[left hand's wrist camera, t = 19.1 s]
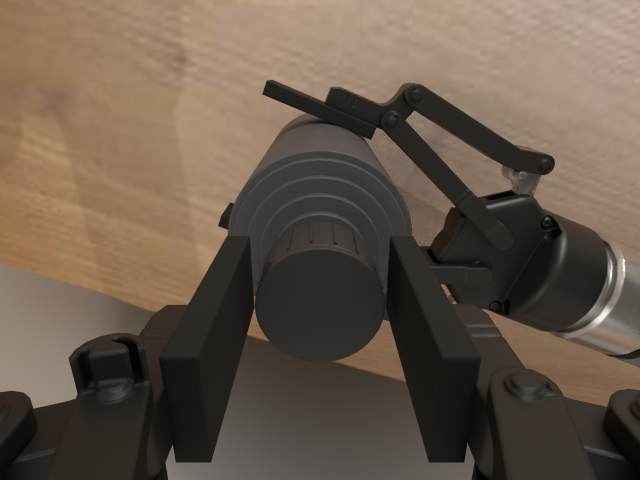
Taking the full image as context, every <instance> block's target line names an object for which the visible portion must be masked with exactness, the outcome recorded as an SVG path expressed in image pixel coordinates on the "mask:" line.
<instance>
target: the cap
mask: <svg viewBox="0 0 640 480" xmlns="http://www.w3.org/2000/svg"><path fill="white" fill-rule="evenodd" d="M257 283H258V284H259V286H258V289H257V293H256V298H255V311H256V317H257V320H258V323H259V325H260V328H261V330H262V331H263V333H264V334H265V336H266V337H267V338H268V340H269V341H270V342H271V343H272V344H273V345H274V346H276V347H277V348H278V349H280V350H281V351H283V352H284V353H286V354H288V355H290V356H293V357H295V358H298V359H301V360H306V361H312V362H328V361H335V360H339V359H343V358H345V357H348V356H350V355H352V354H354V353H356V352H358V351H359V350H361V349H362V348H363V347H364V346H366V345H367V344H368V343H369V342H370V341H371V340H372V339H373V337H374V336H375V334H376V333H377V332H378V330H379V328H380V326H381V324H382V320H383V317H384V312H385V298H384V293H383V289H384V285H383V282H382V279H381V275H380V272H379V268H378V265H377V262H376V263H375V261H374V258H373V255H372V252H371V249H370V246H369V244H368V245H367V244H366V243H365V242H364V241H363V239H362V238H361V237H359V236H358V235H357V234H356V232H355V231H354V230H353V231H351V230H350V229H348V228H346V227H344V226H341V225H338V224H336V223H335V222H333V223H330V222H313V221H311V223H305V224H302V225H299V226H297V227H294V228H292V227H291V228H290V230H289V231H287V232H286V233H284V234H283V235H282V236H281V237H280V238H279V239H278V240H277V241H276V240H275V241H274V243H273V246H272V247H271V249H270V251H269V253H268V255H267V257H265V258H264V262H263V265H262V268H261V272H260V275H259V278H258V282H257Z"/></svg>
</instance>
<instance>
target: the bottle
mask: <svg viewBox="0 0 640 480" xmlns="http://www.w3.org/2000/svg"><path fill="white" fill-rule="evenodd" d="M311 221H313V222H330V223H333V222H335V223H336V224H338V225H341V226H344V227H346V228H348V229H350V230H351V231H353V230H354V231H355V232H356V234H357V235H358V236H359V237H361V238H362V239H363V241H364V242H365V243H366V244H367V245H368V244H369V246H370V249H371V252H372V255H373V258H374V261H375V263H376V262H377V265H378V268H379V272H380V275H381V279H382V282H383V285H384V289H383V293H384V297H385V296H386V293H387V277H388V261H389V246H390V236H412V225H411V219H410V215H409V211H408V208H407V205H406V203H405V201H404V199H403V197H402V195H401V193H400V192H399V190H398V189H397V187H396V186H395V184H394V183H393V181H392V180H391V178H390V177H389V175H388V174H387V172H386V171H385V169H384V168H383V166H382V165H381V163H380V162H379V160H378V159H377V157H376V156H375V154H374V153H373V151H372V150H371V148H370V147H369V145H368V144H367V142H366V140H365V139H364V137H363V136H361V135H358V134H356V133H354V132H351V131H349V130H346V129H344V128H342V127H339V126H337V125H334V124H332V123H330V122H327V121H325V120H323V119H320V118H318V117H315V116H313V115H311V114H308V113H307V114H304V115H301V116H299V117H297V118H295V119H294V120H292V121H291V122H289V123H288V124H287V125H286V126H285V127H284V128H283V129H282V131H281V132H280V133H279V135H278V136H277V138H276V139H275V141H274V142H273V144H272V145H271V147H270V148H269V150H268V151H267V153H266V154H265V156H264V157H263V159H262V160H261V162H260V163H259V165H258V166H257V168H256V169H255V171H254V172H253V174H252V175H251V177H250V178H249V180H248V181H247V183H246V184H245V186H244V187H243V189H242V190H241V192H240V194H239V195H238V197H237V199H236V201H235V204H234V206H233V208H232V212H231V216H230V219H229V227H228V236H250V246H251V261H252V277H253V293H254V296H256V293H257V289H258V286H259V284H258V283H257V282H258V278H259V275H260V272H261V268H262V265H263V262H264V258H265V257H267V255H268V253H269V251H270V249H271V247H272V246H273V243H274V241H275V240H276V241H277V240H278V239H279V238H280V237H281V236H282V235H283V234H284V233H286V232H287V231H289V230H290V228H291V227H292V228H294V227H297V226H299V225H302V224H305V223H311Z"/></svg>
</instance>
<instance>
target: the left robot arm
mask: <svg viewBox="0 0 640 480" xmlns="http://www.w3.org/2000/svg"><path fill="white" fill-rule="evenodd" d="M253 310H254V293H253V277H252V261H251V246H250V236H227V237H226V239H225V241H224V243H223V244H222V246H221V248H220V250H219V251H218V253H217V255H216V257H215V258H214V260H213V262H212V264H211V265H210V267H209V269H208V271H207V273H206V274H205V276H204V278H203V280H202V281H201V283H200V285H199V287H198V288H197V290H196V292H195V294H194V296H193V297H192V299H191V301H190V303H189V304H188V305H167V306H165V307H164V308H162V309H161V310H159V311H158V312H157V313H155V314H154V315H153V316H152V317H151V318H150V320H149V321H148V323H147V324H146V326H145V329H143V330H142V332H141V333H140V335H139V336H137V335H133V334H129V333H114V334H109V335H105V336H101V337H98V338H95V339H93V340H90V341H88V342H86V343H85V344H83V345H81V346H80V347H79V348H77V349H76V350H75V351H74V352H73V353H72V355H71V356H70V357H69V362H70V365H71V369H72V373H73V377H74V381H75V384H76V389H77V393H78V395H77V397H76V399H74V400H70V401H66V402H63V403H58V404H53V405H49V406H44V407H40V408H35V409H33V406H32V403H31V400H30V398H29V397H28V396H27V395H26V394H25V393H22V392H16V391H7V392H0V480H168V476H167V470H166V464H165V462H166V460H167V457H168V454H169V452H170V449H171V447H172V444H173V448H174V454H175V460H176V462H211V461H212V457H213V453H214V450H215V446H216V443H217V439H218V436H219V432H220V428H221V425H222V421H223V418H224V414H225V411H226V407H227V403H228V400H229V396H230V393H231V389H232V385H233V382H234V378H235V375H236V371H237V368H238V364H239V360H240V357H241V353H242V349H243V346H244V342H245V339H246V335H247V332H248V328H249V325H250V321H251V317H252V314H253ZM386 310H387V314H388V317H389V321H390V325H391V328H392V332H393V335H394V339H395V343H396V346H397V350H398V353H399V357H400V360H401V364H402V368H403V371H404V375H405V378H406V382H407V385H408V389H409V393H410V396H411V400H412V403H413V407H414V411H415V414H416V418H417V421H418V425H419V428H420V432H421V436H422V439H423V443H424V446H425V450H426V453H427V457H428V461H429V462H464V460H465V454H466V448H467V442H468V445H469V447H470V450H471V452H472V455H473V457H474V460H475V464H474V470H473V475H472V480H640V390H632V389H625V390H619V391H616V392H615V393H614V394H613V395H611V396H610V400H609V403H608V406H607V407H604V406H600V405H595V404H591V403H586V402H581V401H577V400H573V399H569V398H566V397H564V396H563V394H562V392H561V391H560V389H559V388H558V386H557V385H556V384H555V383H554V382H552V381H551V380H550V379H549V378H547V377H546V376H544V375H542V374H540V373H538V372H536V371H534V370H530V369H526V368H525V367H524V366H523V364H522V363H521V361H520V360H519V359H518V357H517V356H516V354H515V353H514V351H513V350H512V349H511V347H510V346H509V344H508V343H507V341H506V340H505V338H504V337H502V334H501V333H500V331H499V330H498V328H496V327H495V324H494V323H493V321H492V320H491V318H490V317H489V315H488V314H487V313H486V312H484V311H483V310H481V309H480V308H478V307H477V306H475V305H474V304H451V303H450V301H449V299H448V297H447V296H446V294H445V292H444V290H443V288H442V287H441V285H440V283H439V281H438V280H437V278H436V276H435V274H434V273H433V271H432V269H431V267H430V265H429V264H428V262H427V260H426V258H425V257H424V255H423V253H422V251H421V250H420V248H419V246H418V244H417V243H416V241H415V239H414V237H413V236H390V246H389V261H388V277H387V293H386Z"/></svg>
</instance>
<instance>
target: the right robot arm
mask: <svg viewBox="0 0 640 480" xmlns="http://www.w3.org/2000/svg"><path fill="white" fill-rule="evenodd" d="M263 95H265V96H268V97H270V98H272V99H275V100H277V101H279V102H282V103H284V104H287V105H289V106H291V107H294V108H296V109H299V110H301V111H303V112H306V113H308V114H311V115H313V116H315V117H318V118H320V119H323V120H325V121H327V122H330V123H332V124H334V125H337V126H339V127H342V128H344V129H346V130H349V131H351V132H354V133H356V134H358V135H361V136H363V137H366V138H368V139H370V140H371V139H372V136H373V134H374V132H375V130H376V127H377V128H379V129H382V130H383V131H384V132H385V133H386V134H387V135H388V136H389V137H390V138H391V139H392V140H393V141H394V142H395V143H396V144H397V145H398V146H399V147H400V149H401V150H402V151H403V152H404V153H405V154H406V155H407V156H408V157H409V158H410V159H411V160H412V161H413V162H414V163H415V164H416V165H417V166H418V167H419V168H420V169H421V170H422V172H423V173H424V174H425V175H426V176H427V177H428V178H429V179H430V180H431V181H432V182H433V183H434V184H435V185H436V186H437V187H438V188H439V189H440V190H441V191H442V192H443V194H444V195H445V196H446V197H447V198H448V199H449V200H450V201H451V202H452V203H453V204H454V205H455V206H456V207H455V208H453V207H451V209H450V211H449V213H448V215H447V216H446V220H445V224H444V228H443V230H442V231H441V232H440V233H439V234H438V235H437V236H436V237H435V239H434V241H433V242H432V244H431V246H419V248H420V250H421V251H422V253H423V255H424V257H425V258H426V260H427V262H428V264H429V265H430V267H431V269H432V271H433V273H434V274H435V276H436V278H437V280H438V281H439V283H440V284H445V285H446V287H447V288H448V290H449V292H450V294H451V295H450V296H449V297H448V299H449V301H450V303H451V304H474V305H475V306H477V307H478V308H480V309H487V310H490V311H492V312H494V313H496V314H499V315H501V316H503V317H506V318H509V319H511V320H514V321H517V322H519V323H522V324H525V325H528V326H530V327H533V328H536V329H538V330H541V331H545V332H549V333H551V334H552V335H554V336H556V337H559V338H562V339H565V340H567V341H570V342H573V343H576V344H579V345H581V346H584V347H587V348H590V349H593V350H595V351H598V352H601V353H603V354H605V355H608V356H610V357H614V358H617V359H619V360H622V361H624V362H627V363H630V364H632V365H635V366H637V367H640V250H639V249H637V248H634V247H632V246H630V245H627V244H625V243H623V242H620V241H618V240H616V239H613V238H611V237H609V236H606V235H603V234H601V233H596V232H595V231H593V230H592V229H590V228H588V227H585V226H583V225H580V224H578V223H576V222H573V221H571V220H569V219H566V218H564V217H561V216H559V215H557V214H554V213H552V212H549V211H547V210H545V209H542V208H541V206H540V205H539V204H538V202H537V200H536V199H535V198H534V197H533V196H534V193H535V190H536V188H537V185H538V182H539V180H540V177H541V175H546V174H548V173H550V172H551V171H552V170H553V168H554V165H555V161H554V158H553V157H552V156H550V155H547V154H545V153H542V152H539V151H536V150H534V149H531V148H527V147H522V146H517V145H513V144H511V143H510V142H508V141H507V140H505V139H504V138H502V137H501V136H499V135H498V134H496V133H495V132H493V131H491V130H490V129H488V128H487V127H485V126H484V125H482V124H481V123H479V122H478V121H476V120H475V119H473V118H472V117H470V116H469V115H467V114H466V113H464V112H462V111H461V110H459V109H458V108H456V107H455V106H453V105H452V104H450V103H449V102H447V101H446V100H444V99H443V98H441V97H440V96H438V95H437V94H435V93H433V92H432V91H430V90H429V89H427V88H426V87H424V86H423V85H420V84H415V83H405V84H403V85H402V86H401V87H400V88H399V91H398V92H397V93H396V94H395V95H394V96H393V97H392V99H390V100H389V101H388V102H386V103H376V102H374V101H371V100H369V99H367V98H364V97H362V96H360V95H357V94H355V93H353V92H350V91H348V90H346V89H343V88H341V87H330V90H329V93H328V95H327V98H326V100H325V102H323V101H321V100H318V99H316V98H314V97H311V96H309V95H307V94H304V93H302V92H300V91H297V90H295V89H292V88H290V87H288V86H285V85H283V84H281V83H278V82H276V81H274V80H268V81H267V82H266V85H265V88H264V91H263ZM414 110H415V111H416V112H418V113H420V114H421V115H423V116H424V117H426V118H427V119H429V120H430V121H432V122H434V123H435V124H437V125H438V126H440V127H441V128H443V129H445V130H446V131H448V132H449V133H451V134H452V135H454V136H456V137H457V138H459V139H460V140H462V141H463V142H465V143H466V144H468V145H470V146H471V147H473V148H474V149H476V150H477V151H479V152H481V153H482V154H484V155H485V156H487V157H489V158H491V159H493V160H495V161H496V162H498V163H500V164H502V165H503V166H502V174H503V176H504V177H505V178H507V179H509V180H510V181H511V182H512V186H513V187H512V190H509V191H504V192H500V193H496V194H492V195H487V196H483V197H479V198H478V197H477V196H476V195H475V194H474V193H473V192H472V191H471V190H470V189H469V188H468V187H467V186H466V185H465V184H464V183H463V182H462V181H461V180H460V179H459V178H458V177H457V176H456V175H455V173H454V172H453V171H452V170H451V169H450V168H449V167H448V166H447V165H446V164H445V163H444V162H443V161H442V159H441V158H440V157H439V156H438V155H437V154H436V153H435V152H434V151H433V150H432V149H431V148H430V147H429V146H428V144H427V143H426V142H425V141H424V140H423V139H422V138H421V137H420V136H419V135H418V134H417V133H416V132H415V130H414V129H413V128H412V127H411V126H410V125H409V124H408V123H407V122H406V121H405V120H406V119H407V118H408V117H409V116H410V114H411V113H412V112H413V111H414ZM233 206H234V204H233V203H231V202H230V204H229V205H228V207H227V208H226V210H225V211H224V213H223V214H222V216H221V219H220V222H219V225H218V226H220V227H222V228H225V229H228V227H229V219H230V216H231V212H232V208H233ZM384 298H385V312H384V317H383V320H388V321H389V317H388V314H387V310H386V296H385V297H384Z"/></svg>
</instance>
